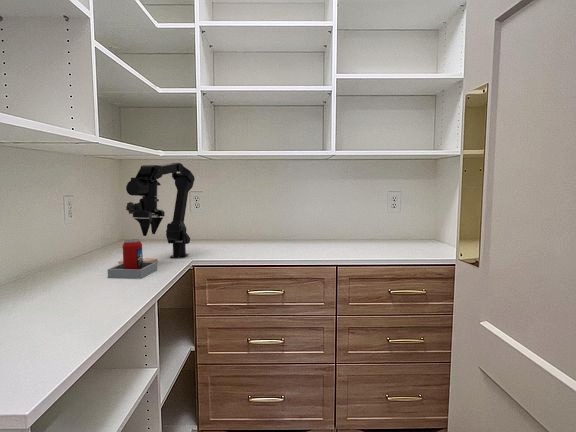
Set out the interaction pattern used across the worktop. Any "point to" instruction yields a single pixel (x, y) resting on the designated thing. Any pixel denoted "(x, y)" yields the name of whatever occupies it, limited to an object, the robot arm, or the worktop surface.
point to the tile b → (150, 260)
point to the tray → (132, 271)
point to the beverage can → (132, 254)
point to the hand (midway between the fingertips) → (149, 235)
